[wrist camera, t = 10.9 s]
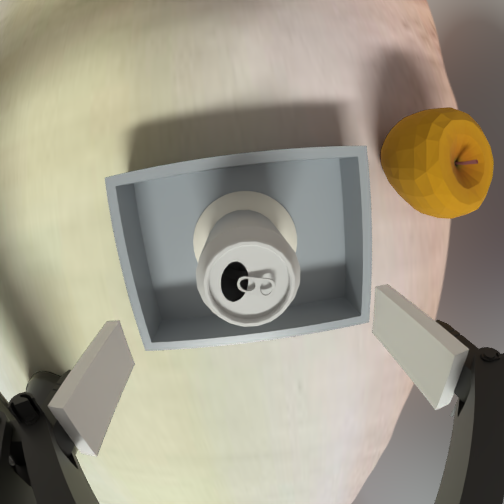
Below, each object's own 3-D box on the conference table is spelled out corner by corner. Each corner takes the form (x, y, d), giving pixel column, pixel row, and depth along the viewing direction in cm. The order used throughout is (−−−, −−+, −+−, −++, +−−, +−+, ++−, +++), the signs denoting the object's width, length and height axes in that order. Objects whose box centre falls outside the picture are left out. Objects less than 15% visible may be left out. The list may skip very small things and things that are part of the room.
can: (212, 204, 29) (197, 223, 17) (284, 213, 30) (315, 238, 18) (205, 273, 31) (189, 330, 19) (273, 281, 32) (294, 339, 20)
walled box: (158, 323, 34) (145, 350, 28) (127, 176, 29) (104, 177, 23) (349, 299, 34) (368, 322, 28) (343, 149, 29) (366, 145, 23)
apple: (401, 224, 32) (471, 251, 20) (345, 160, 30) (409, 155, 17) (446, 165, 30) (517, 170, 18) (397, 101, 28) (466, 78, 15)
